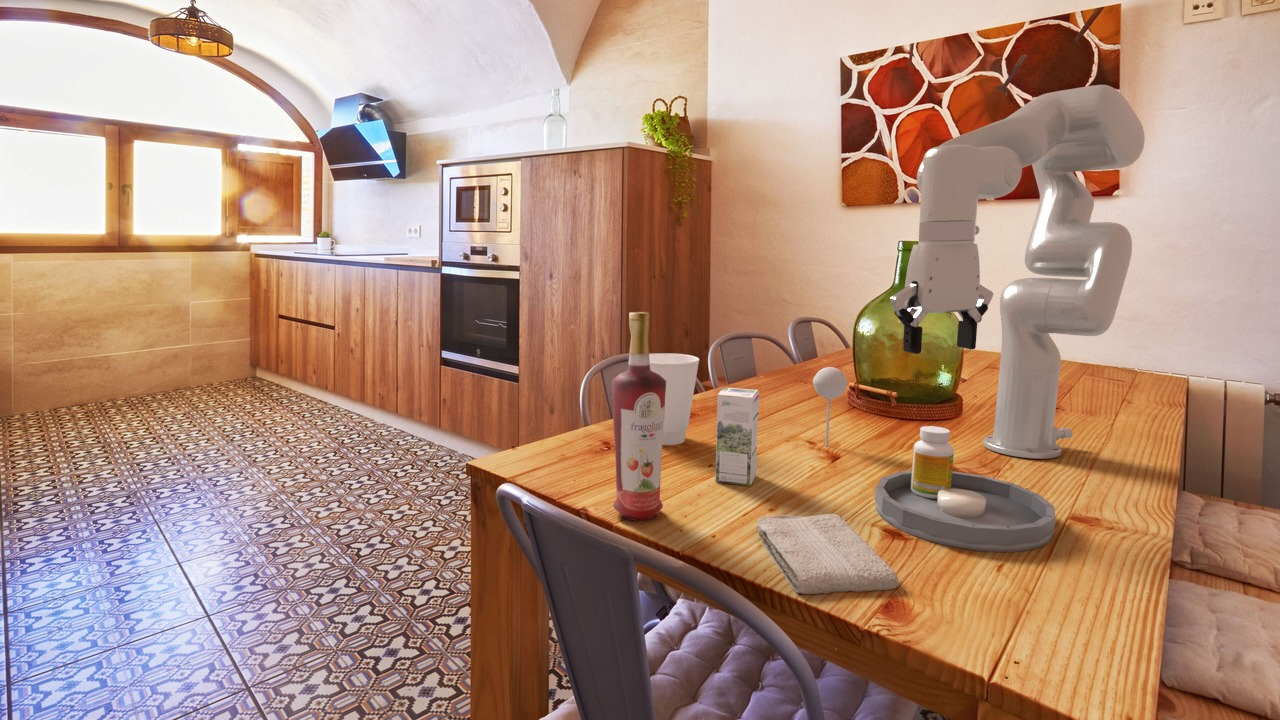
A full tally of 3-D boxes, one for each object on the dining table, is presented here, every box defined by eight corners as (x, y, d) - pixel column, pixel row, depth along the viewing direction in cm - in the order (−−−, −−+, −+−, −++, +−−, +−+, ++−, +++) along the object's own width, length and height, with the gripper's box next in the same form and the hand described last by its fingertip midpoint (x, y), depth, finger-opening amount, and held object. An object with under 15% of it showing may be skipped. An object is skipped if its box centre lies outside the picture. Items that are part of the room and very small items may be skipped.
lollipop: (807, 448, 125) (811, 368, 123) (812, 439, 130) (815, 363, 128) (842, 452, 123) (846, 371, 120) (845, 443, 128) (849, 365, 126)
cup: (679, 452, 122) (680, 365, 119) (624, 442, 128) (624, 359, 125) (708, 437, 132) (710, 356, 129) (656, 428, 138) (656, 351, 135)
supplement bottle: (954, 501, 96) (960, 435, 95) (914, 498, 97) (919, 433, 96) (945, 488, 102) (950, 425, 100) (907, 485, 103) (912, 423, 101)
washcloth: (835, 528, 91) (836, 506, 90) (903, 595, 73) (905, 568, 73) (749, 532, 89) (750, 510, 89) (797, 602, 72) (799, 574, 71)
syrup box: (756, 475, 110) (760, 388, 107) (750, 487, 104) (753, 395, 102) (722, 471, 112) (724, 385, 109) (714, 483, 106) (716, 393, 104)
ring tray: (968, 483, 107) (970, 465, 106) (1094, 541, 86) (1097, 519, 85) (845, 495, 101) (846, 476, 100) (948, 561, 80) (950, 537, 79)
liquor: (623, 528, 89) (624, 316, 84) (603, 508, 95) (603, 311, 91) (673, 519, 92) (676, 314, 87) (651, 501, 98) (653, 309, 94)
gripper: (976, 233, 104) (968, 342, 107) (879, 235, 99) (874, 350, 102) (1015, 233, 97) (1005, 350, 100) (913, 235, 92) (906, 358, 95)
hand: (939, 350), depth 101 cm, fingers open, 9 cm apart
